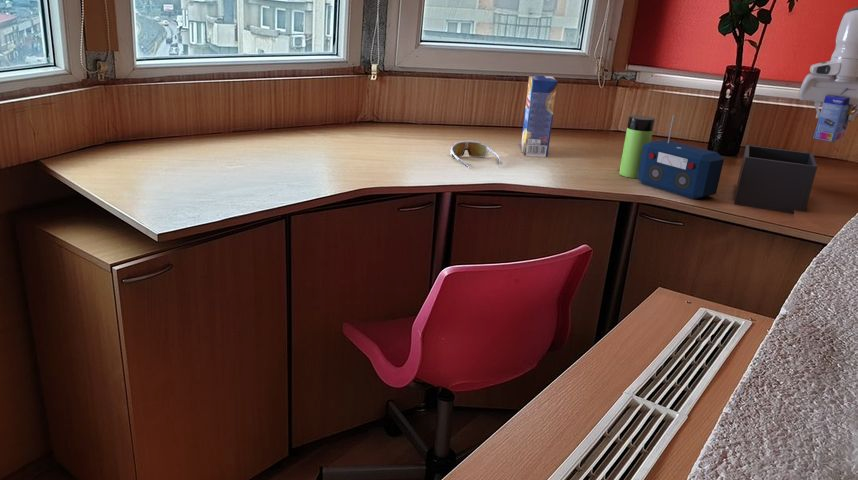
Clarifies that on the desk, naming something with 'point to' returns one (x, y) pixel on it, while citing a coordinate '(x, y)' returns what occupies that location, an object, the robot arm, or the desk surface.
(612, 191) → the desk surface
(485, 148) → the sunglasses
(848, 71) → the robot arm
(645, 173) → the radio
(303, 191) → the desk surface
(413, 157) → the desk surface
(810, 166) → the dark grey storage bin
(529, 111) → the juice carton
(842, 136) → the ink cartridge box
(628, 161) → the tumbler
